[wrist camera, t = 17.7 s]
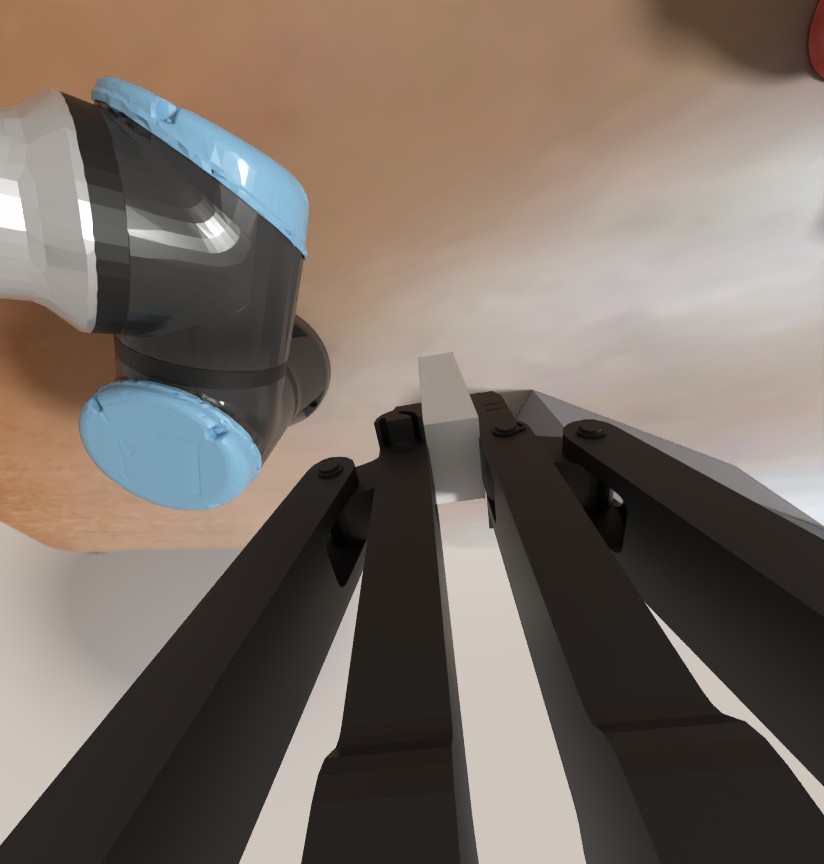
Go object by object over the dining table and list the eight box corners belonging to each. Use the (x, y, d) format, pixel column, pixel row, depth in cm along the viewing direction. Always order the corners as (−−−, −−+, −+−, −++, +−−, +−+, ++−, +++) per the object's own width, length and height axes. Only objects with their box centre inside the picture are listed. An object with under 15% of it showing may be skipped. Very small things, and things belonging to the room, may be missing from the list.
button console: (687, 517, 58) (764, 591, 45) (496, 452, 52) (524, 518, 39) (735, 466, 53) (834, 533, 41) (532, 389, 47) (576, 441, 35)
